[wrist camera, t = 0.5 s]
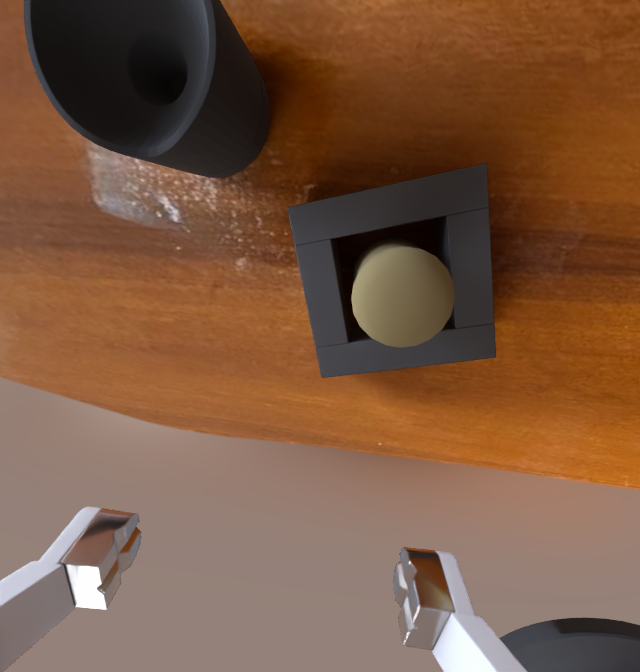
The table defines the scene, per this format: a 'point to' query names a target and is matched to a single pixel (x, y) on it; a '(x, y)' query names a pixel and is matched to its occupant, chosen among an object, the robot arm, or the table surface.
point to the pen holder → (152, 80)
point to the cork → (401, 293)
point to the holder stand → (453, 251)
